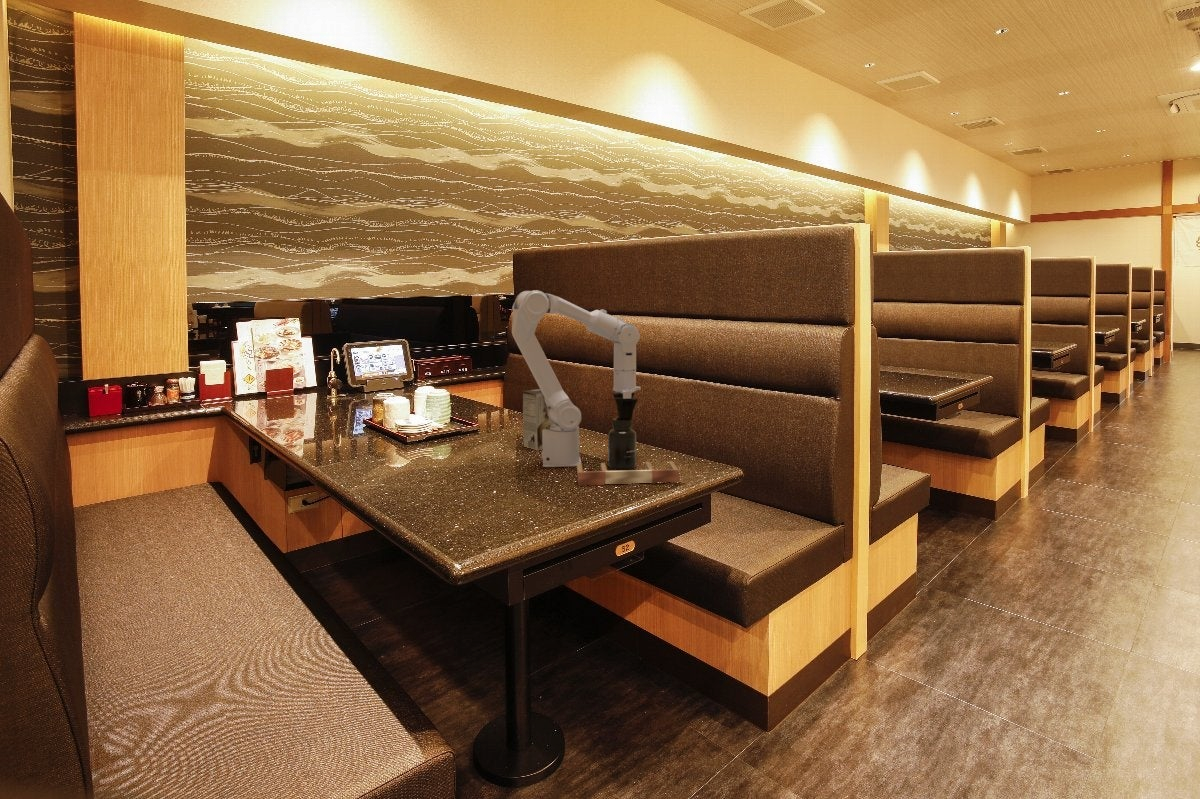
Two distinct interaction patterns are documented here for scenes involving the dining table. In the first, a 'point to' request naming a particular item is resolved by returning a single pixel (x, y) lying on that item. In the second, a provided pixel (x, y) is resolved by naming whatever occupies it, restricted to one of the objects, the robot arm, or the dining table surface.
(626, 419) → the supplement bottle
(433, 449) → the dining table surface
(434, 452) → the dining table surface
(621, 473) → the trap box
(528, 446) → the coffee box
